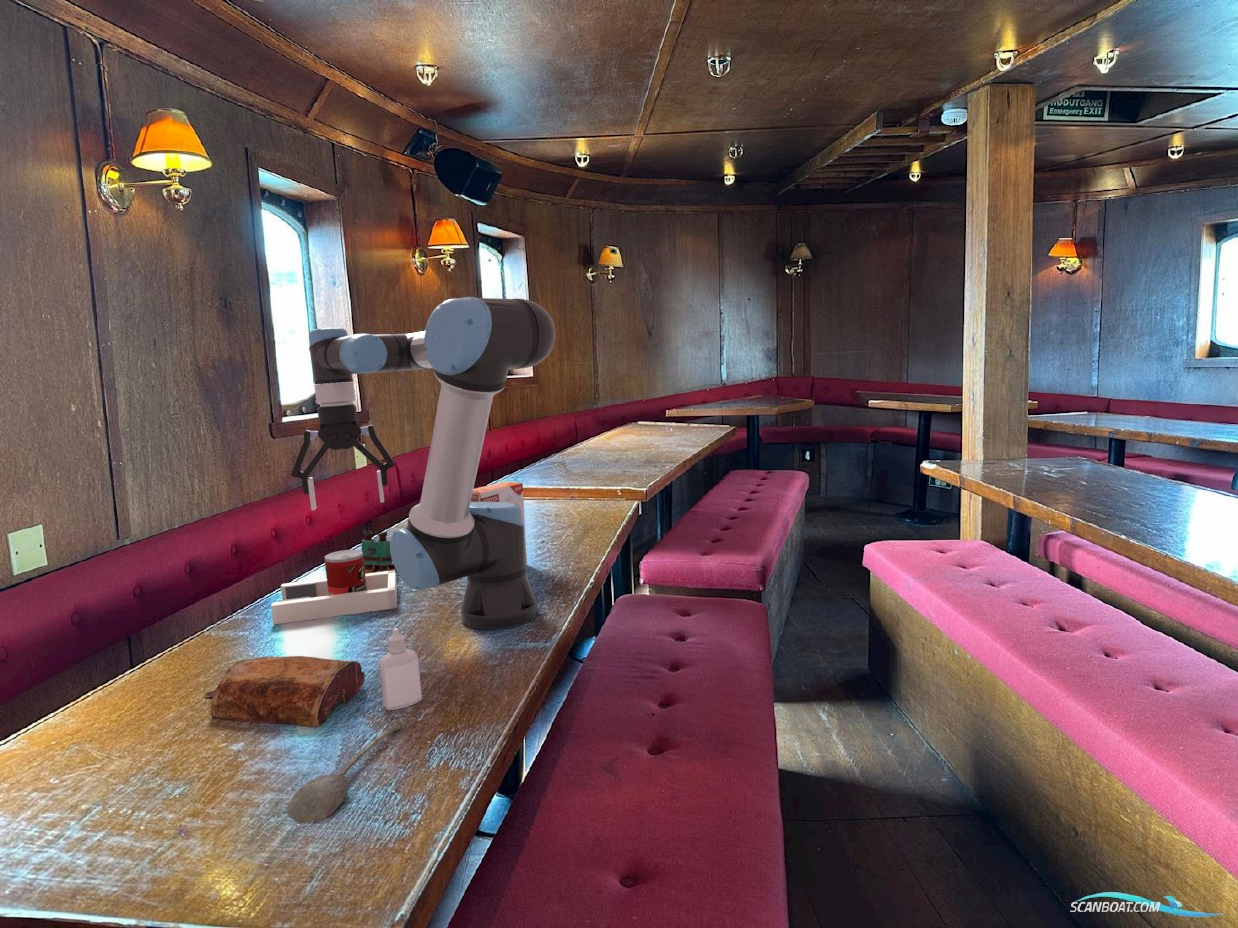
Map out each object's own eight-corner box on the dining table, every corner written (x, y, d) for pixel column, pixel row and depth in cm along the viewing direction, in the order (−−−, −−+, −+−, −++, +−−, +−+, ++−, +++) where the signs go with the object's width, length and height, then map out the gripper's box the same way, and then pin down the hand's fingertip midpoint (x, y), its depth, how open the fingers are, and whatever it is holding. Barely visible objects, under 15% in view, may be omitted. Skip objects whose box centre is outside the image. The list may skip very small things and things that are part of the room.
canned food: (356, 610, 156) (351, 559, 155) (322, 609, 158) (316, 559, 156) (374, 597, 164) (370, 549, 162) (342, 597, 165) (336, 549, 164)
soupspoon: (275, 827, 87) (324, 837, 85) (272, 801, 86) (321, 811, 84) (381, 726, 108) (422, 732, 106) (379, 705, 107) (420, 711, 105)
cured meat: (247, 669, 130) (241, 632, 128) (379, 674, 125) (375, 636, 124) (168, 723, 112) (160, 681, 111) (318, 732, 107) (312, 688, 106)
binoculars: (409, 527, 187) (383, 533, 177) (410, 569, 187) (384, 577, 178) (381, 525, 190) (353, 531, 181) (382, 566, 191) (354, 574, 181)
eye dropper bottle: (418, 709, 112) (411, 633, 110) (380, 711, 111) (372, 635, 109) (424, 695, 116) (417, 622, 114) (387, 698, 116) (380, 624, 114)
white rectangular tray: (396, 607, 157) (395, 589, 156) (273, 624, 150) (270, 605, 149) (396, 586, 171) (395, 570, 170) (284, 601, 164) (282, 583, 164)
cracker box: (487, 580, 172) (480, 492, 169) (469, 576, 176) (462, 490, 173) (529, 565, 183) (523, 481, 180) (511, 561, 187) (506, 480, 184)
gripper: (398, 399, 160) (409, 495, 163) (273, 408, 153) (287, 509, 156) (399, 400, 153) (410, 501, 156) (267, 410, 146) (282, 515, 149)
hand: (348, 505), depth 156 cm, fingers open, 13 cm apart
